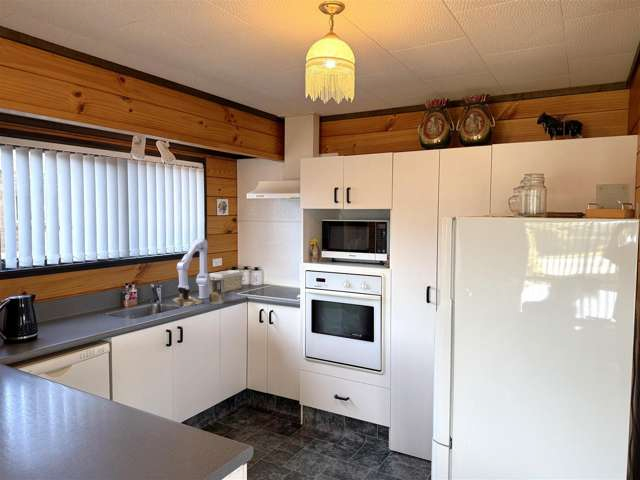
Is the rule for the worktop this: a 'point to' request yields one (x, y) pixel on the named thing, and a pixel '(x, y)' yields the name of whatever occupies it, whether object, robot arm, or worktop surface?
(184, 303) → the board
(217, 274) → the storage basket
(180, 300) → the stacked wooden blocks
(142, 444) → the worktop surface
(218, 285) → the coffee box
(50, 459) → the worktop surface
